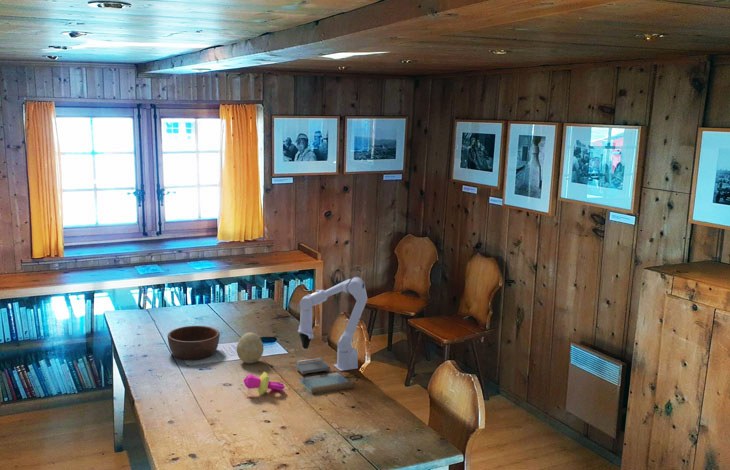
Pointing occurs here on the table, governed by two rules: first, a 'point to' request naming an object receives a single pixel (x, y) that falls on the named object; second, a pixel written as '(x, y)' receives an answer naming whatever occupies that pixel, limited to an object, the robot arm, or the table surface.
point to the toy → (262, 383)
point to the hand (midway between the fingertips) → (305, 348)
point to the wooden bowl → (193, 342)
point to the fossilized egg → (250, 348)
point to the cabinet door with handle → (312, 366)
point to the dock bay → (325, 383)
